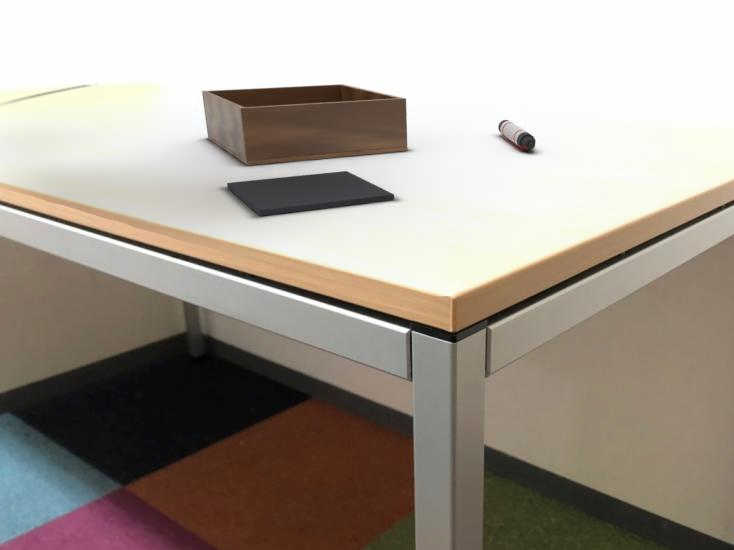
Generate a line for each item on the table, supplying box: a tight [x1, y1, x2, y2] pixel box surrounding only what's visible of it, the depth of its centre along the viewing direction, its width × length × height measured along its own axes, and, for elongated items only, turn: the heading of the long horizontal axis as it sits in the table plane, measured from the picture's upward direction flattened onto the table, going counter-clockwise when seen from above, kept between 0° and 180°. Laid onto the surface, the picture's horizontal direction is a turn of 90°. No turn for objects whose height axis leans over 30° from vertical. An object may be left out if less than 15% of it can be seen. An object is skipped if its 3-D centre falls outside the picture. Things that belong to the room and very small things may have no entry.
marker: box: [497, 119, 536, 152], centre depth 93 cm, size 15×2×2 cm, turn 8°
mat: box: [226, 170, 395, 217], centre depth 68 cm, size 12×12×1 cm
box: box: [201, 83, 408, 166], centre depth 92 cm, size 21×19×6 cm
